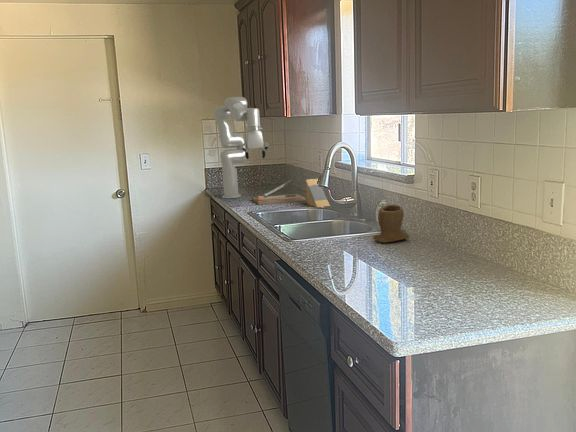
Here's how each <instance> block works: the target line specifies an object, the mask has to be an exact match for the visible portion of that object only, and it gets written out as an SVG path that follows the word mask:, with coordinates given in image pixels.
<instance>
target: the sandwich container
mask: <svg viewBox="0 0 576 432" xmlns="http://www.w3.org/2000/svg"><path fill="white" fill-rule="evenodd" d="M318 179H319V178H311V179H309V178H308V179H305V193H306V204H307V205H308V206H310V207H313V206H314V208H316V207H321V208H325V207H324V206H330V207H331V205H330V203H329V200H328V198H327V196H326V193H325V191H324V189H323V187H322V188H321V187H319V186H318V184H317V181H318Z"/></svg>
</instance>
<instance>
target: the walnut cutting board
mask: <svg viewBox="0 0 576 432" xmlns="http://www.w3.org/2000/svg"><path fill="white" fill-rule="evenodd" d="M294 194H295V195H296V197H282V198H271V199H263V200H258V196H256V197H255V196H254V197H251V202H253V203H255V204H257V205H260V206H261V205H268V204H269V205H270V204H281V203H282V204H284V203H291V202H292V203H293V202H303V201H306V196H305V197H304V196H303V195H300V194H298V193H294ZM282 195H283V194H281V195H276V196H282ZM271 196H272V195H268V196H267V197H271Z"/></svg>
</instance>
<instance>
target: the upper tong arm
mask: <svg viewBox="0 0 576 432" xmlns="http://www.w3.org/2000/svg"><path fill="white" fill-rule="evenodd" d="M293 183H294V181H293V180H292V179H291V180H288V181H286V182H285V183H283V184H281V185H279V186H277V187H275V188H273V189H272V190H270V191H268V192H266V193H263V194H262V196H263V197H267V196H270V195H271V194H272V193H273V194H274V192H277V191H279V190H280V189H282V188H283V187H284V188H285V187H287V186H289V185H291V184H293Z"/></svg>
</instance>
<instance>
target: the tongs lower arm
mask: <svg viewBox="0 0 576 432" xmlns="http://www.w3.org/2000/svg"><path fill="white" fill-rule="evenodd" d="M295 194H296V193H290V194H281V195H282V196H277V195H270V196H271V197H264V196H263V199H271V198H282V197H296V195H295Z"/></svg>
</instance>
